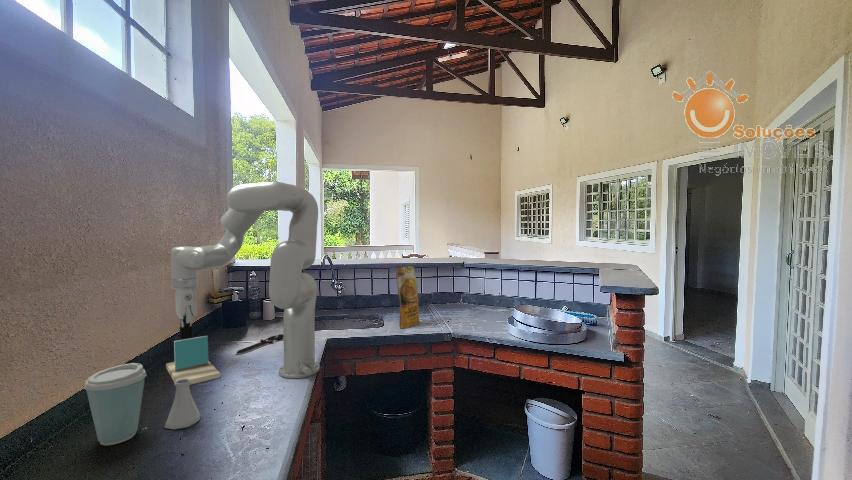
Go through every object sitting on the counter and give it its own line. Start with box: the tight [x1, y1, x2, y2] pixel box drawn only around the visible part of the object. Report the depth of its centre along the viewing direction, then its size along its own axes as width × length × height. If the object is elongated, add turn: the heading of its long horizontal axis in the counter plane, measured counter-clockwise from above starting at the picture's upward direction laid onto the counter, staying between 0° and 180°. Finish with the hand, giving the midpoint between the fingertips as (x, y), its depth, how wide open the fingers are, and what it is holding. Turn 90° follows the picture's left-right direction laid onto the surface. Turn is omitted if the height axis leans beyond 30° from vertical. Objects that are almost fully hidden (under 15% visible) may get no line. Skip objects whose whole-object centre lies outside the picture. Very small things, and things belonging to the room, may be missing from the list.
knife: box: [234, 333, 284, 356], centre depth 147 cm, size 25×6×1 cm, turn 154°
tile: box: [173, 335, 210, 371], centre depth 119 cm, size 9×9×1 cm
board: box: [165, 361, 221, 386], centre depth 119 cm, size 20×11×2 cm, turn 42°
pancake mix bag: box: [395, 265, 421, 329], centre depth 179 cm, size 7×19×28 cm, turn 150°
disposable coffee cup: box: [84, 362, 147, 447], centre depth 83 cm, size 11×11×15 cm
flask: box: [163, 378, 202, 430], centre depth 89 cm, size 7×7×10 cm
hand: (185, 338), depth 126 cm, fingers closed
